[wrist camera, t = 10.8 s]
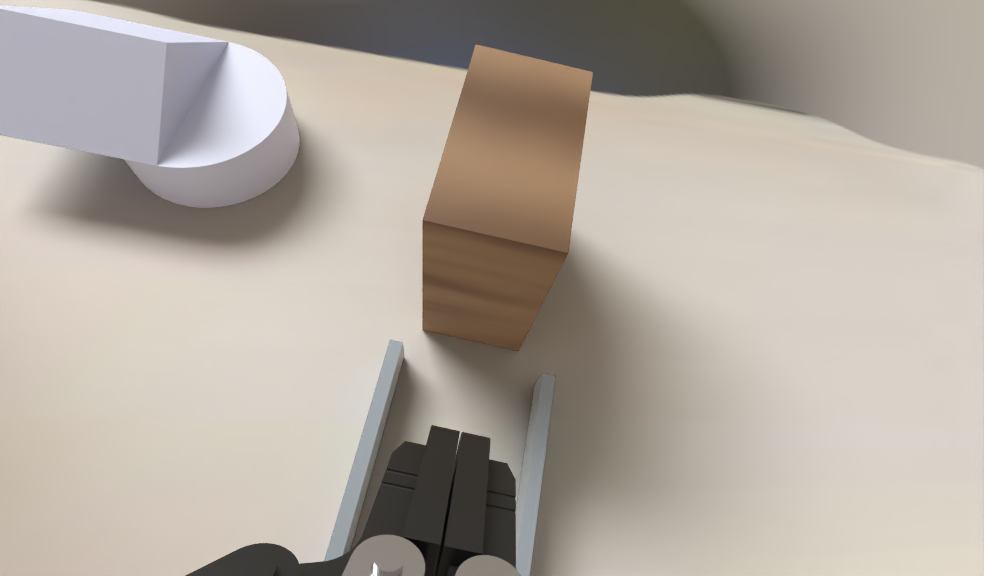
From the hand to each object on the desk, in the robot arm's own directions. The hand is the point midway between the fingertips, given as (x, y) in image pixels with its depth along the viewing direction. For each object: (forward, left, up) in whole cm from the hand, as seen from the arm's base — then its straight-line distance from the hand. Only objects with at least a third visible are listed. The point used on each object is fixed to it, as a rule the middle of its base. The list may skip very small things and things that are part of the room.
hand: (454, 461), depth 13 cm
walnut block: (0, +12, -11) cm, 16 cm away
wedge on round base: (-19, +16, -11) cm, 27 cm away
